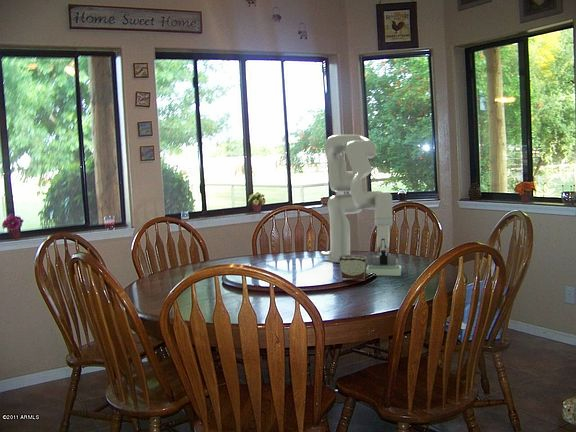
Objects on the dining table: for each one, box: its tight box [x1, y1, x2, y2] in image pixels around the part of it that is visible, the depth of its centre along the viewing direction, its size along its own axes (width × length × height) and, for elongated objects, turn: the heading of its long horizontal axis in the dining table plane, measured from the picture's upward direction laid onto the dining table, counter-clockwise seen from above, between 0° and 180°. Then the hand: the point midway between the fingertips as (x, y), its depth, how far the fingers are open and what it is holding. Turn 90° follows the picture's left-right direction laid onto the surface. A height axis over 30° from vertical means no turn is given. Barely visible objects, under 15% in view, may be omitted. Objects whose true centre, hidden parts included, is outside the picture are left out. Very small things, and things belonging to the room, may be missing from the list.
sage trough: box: [365, 264, 402, 277], centre depth 279 cm, size 15×9×3 cm, turn 79°
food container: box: [338, 254, 369, 279], centre depth 268 cm, size 12×6×10 cm, turn 71°
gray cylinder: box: [371, 255, 399, 266], centre depth 278 cm, size 11×4×4 cm, turn 79°
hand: (384, 263), depth 278 cm, fingers closed on gray cylinder, 4 cm apart
